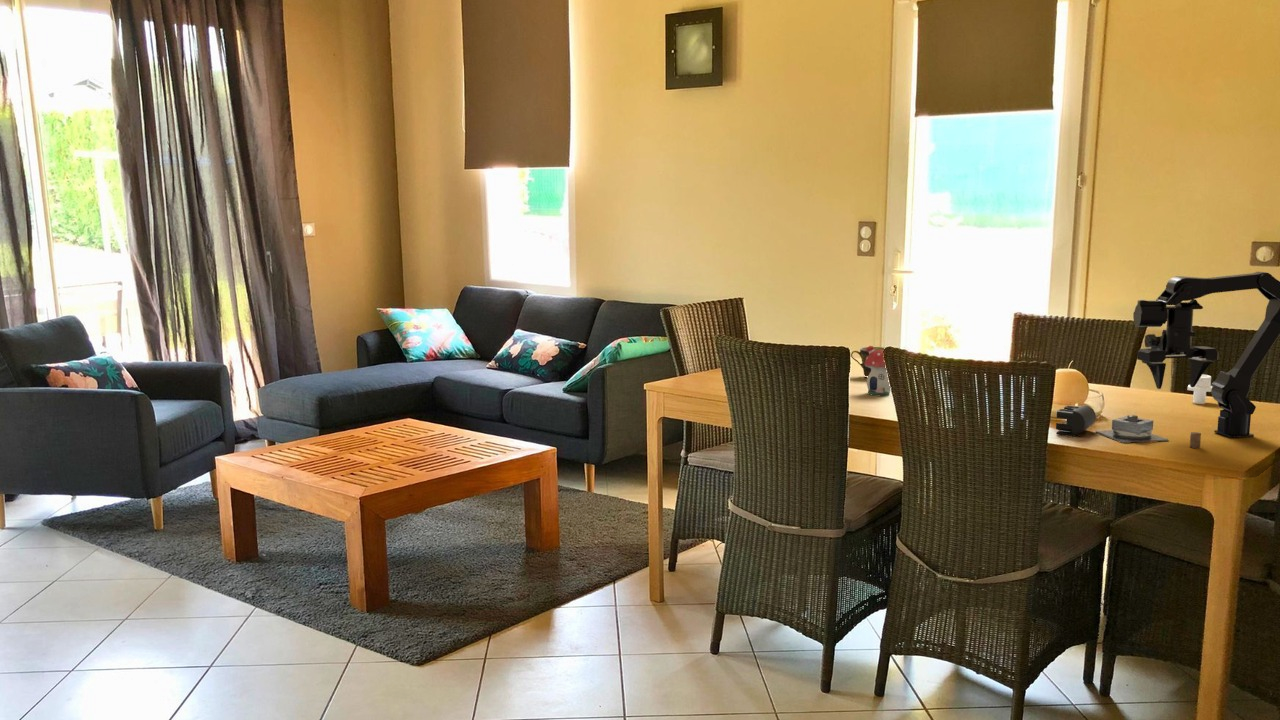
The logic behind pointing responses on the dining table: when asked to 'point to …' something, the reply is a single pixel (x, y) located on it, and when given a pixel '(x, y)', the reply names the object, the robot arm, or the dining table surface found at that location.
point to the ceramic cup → (864, 355)
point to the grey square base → (1132, 425)
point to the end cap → (1075, 420)
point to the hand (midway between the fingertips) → (1175, 387)
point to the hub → (1131, 434)
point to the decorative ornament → (877, 373)
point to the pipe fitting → (1201, 389)
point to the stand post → (1195, 440)
